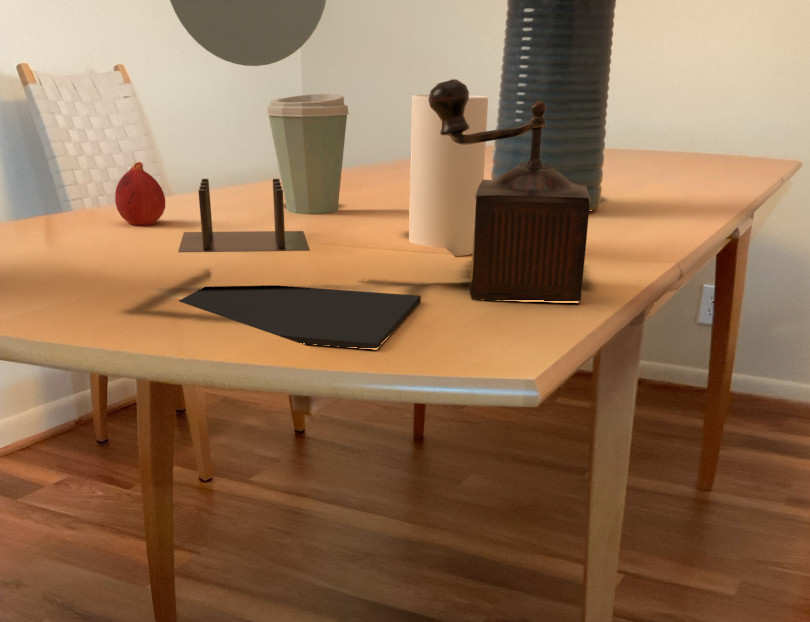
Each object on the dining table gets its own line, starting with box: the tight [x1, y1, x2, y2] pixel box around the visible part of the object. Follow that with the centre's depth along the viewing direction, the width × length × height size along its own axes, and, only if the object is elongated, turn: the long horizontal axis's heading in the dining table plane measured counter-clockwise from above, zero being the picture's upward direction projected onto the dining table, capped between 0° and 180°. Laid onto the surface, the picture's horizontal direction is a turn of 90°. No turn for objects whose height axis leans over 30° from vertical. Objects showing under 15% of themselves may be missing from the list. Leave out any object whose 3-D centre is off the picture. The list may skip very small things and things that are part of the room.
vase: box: [490, 0, 617, 211], centre depth 128 cm, size 16×16×32 cm
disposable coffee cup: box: [266, 93, 350, 215], centre depth 120 cm, size 11×11×15 cm
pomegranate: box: [114, 161, 166, 227], centre depth 110 cm, size 6×6×8 cm
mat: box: [178, 284, 422, 348], centre depth 78 cm, size 20×16×1 cm
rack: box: [177, 178, 311, 253], centre depth 102 cm, size 12×14×7 cm
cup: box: [408, 93, 489, 257], centre depth 102 cm, size 8×8×16 cm
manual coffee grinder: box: [428, 78, 590, 302], centre depth 85 cm, size 16×11×18 cm
